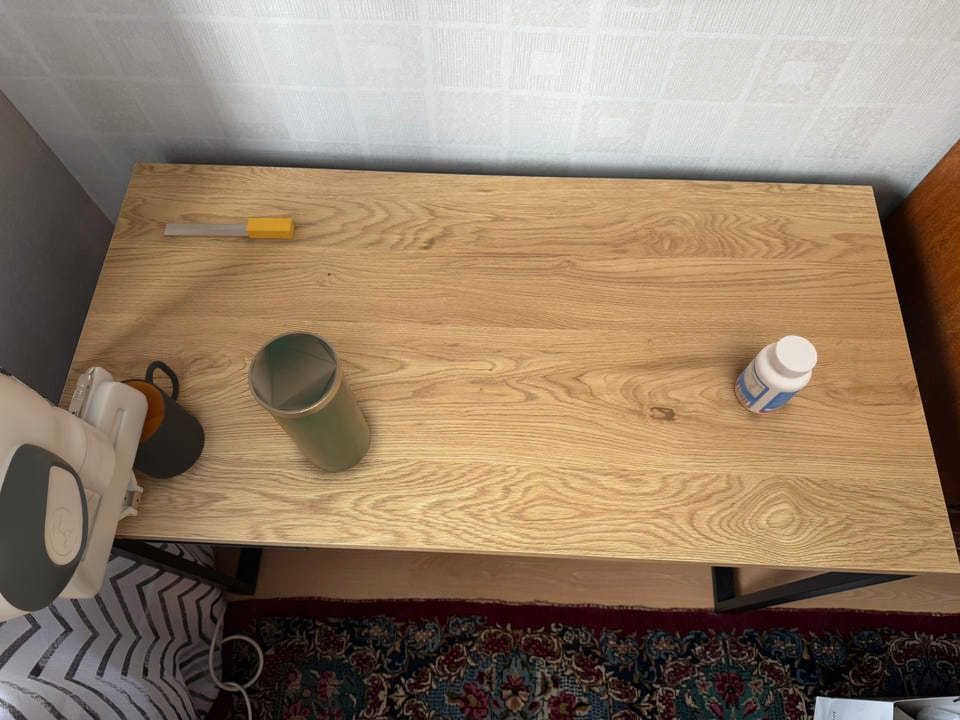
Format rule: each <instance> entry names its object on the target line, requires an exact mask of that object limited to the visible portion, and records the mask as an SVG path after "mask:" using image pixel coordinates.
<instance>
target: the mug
mask: <svg viewBox="0 0 960 720" xmlns="http://www.w3.org/2000/svg"><path fill="white" fill-rule="evenodd" d="M156 369H160V370H161V371H162V372H163V373H164V374H165V375H166V376H167V377H168V378H169V379H170V381H171V385H172V393H171V396H170V395H169V394H168V393H167V392H165V391H164V390H163V389H162V388H161V387H160V386H159V385H157V384H156V383H154V372H155V370H156ZM119 382H120V383H123V384H126V385H128V386H131V387H133V388H135V389H137V390H138V391H140V392H141V393H143V394H144V395H145V396H146V399H147V403H148V410H147V414H146V417H145V421H144V425H143V429H142V433H141V437H140V441H139V444H138V448H137V452H136V456H135V460H134V464H133V469H136V470H137V471H139V472H140V473H143V474H144V475H146V476H149V477H151V478H154V479H159V480H160V479H170V478H175V477H177V476H180V475H182V474H184V473H185V472H187V471H188V470H189V469H190V468H191V467H192V466H193V465H195V463H196V462H197V461H198V460H199V459H200V456H201V455H202V452H203V449H204V446H205V432H204V428H203V427H202V424H201V423H200V422H199V420H198V419H197V418H195V417H194V416H193V415H192V414H191V413H189V411H187V409H185V408H184V407H183V406H181V405H180V404H179V403H178V402H177V400H178V398H179V395H180V382H179V378H178V376H177V374H176V373H175V372H174V370H172V368H170V366H168V364H166V363H165V362H164V361H161V360H154V361H152V362H150V363H149V365H148V366H147V368H146V370H145V377H144V379H142V378H129V379H124V380H121V381H119Z"/></svg>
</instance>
